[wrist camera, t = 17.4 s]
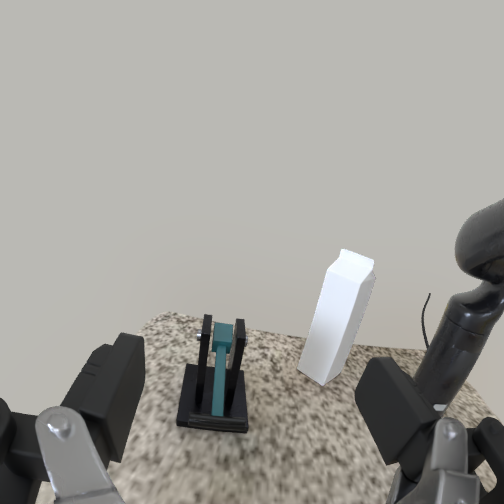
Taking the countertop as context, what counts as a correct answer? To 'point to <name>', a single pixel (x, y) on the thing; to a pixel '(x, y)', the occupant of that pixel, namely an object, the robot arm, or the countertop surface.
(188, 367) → the bracket
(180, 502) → the countertop surface
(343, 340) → the milk
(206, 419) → the lever
